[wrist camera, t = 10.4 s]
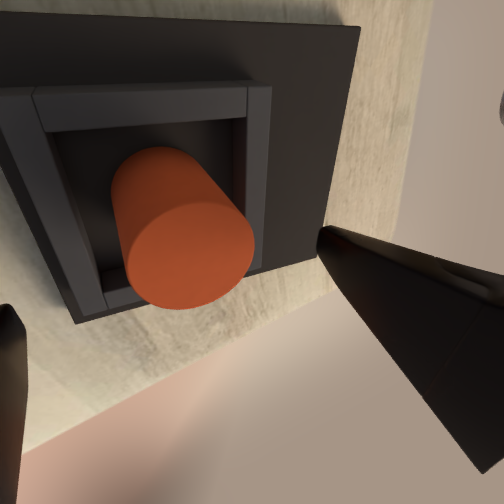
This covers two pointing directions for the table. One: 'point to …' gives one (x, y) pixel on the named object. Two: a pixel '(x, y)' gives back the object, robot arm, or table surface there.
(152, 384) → the table surface
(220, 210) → the orange cylinder
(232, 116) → the base pad
